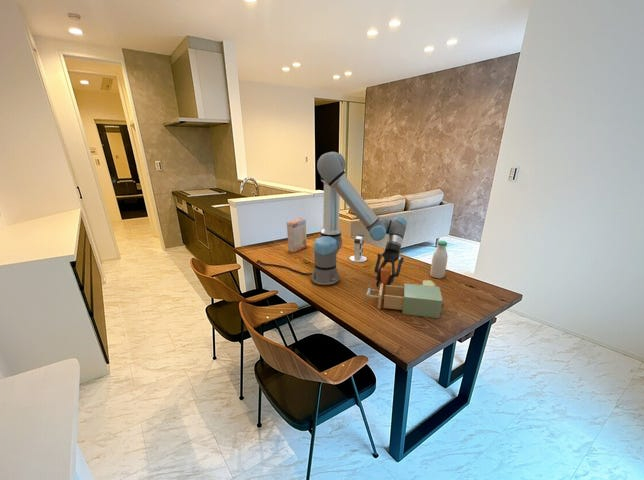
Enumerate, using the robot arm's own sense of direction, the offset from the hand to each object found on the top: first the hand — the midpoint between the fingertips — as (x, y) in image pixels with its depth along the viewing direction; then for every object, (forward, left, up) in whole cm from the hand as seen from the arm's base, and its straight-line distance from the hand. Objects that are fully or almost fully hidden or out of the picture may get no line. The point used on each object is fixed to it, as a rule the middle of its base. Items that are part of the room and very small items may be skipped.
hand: (382, 287), depth 147 cm
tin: (+1, +4, -4) cm, 5 cm away
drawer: (+3, -10, -3) cm, 11 cm away
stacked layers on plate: (+22, +6, -4) cm, 23 cm away
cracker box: (-62, +54, -4) cm, 82 cm away
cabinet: (+18, -10, -4) cm, 21 cm away
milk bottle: (+29, +29, -4) cm, 41 cm away
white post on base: (-18, +45, -4) cm, 48 cm away
